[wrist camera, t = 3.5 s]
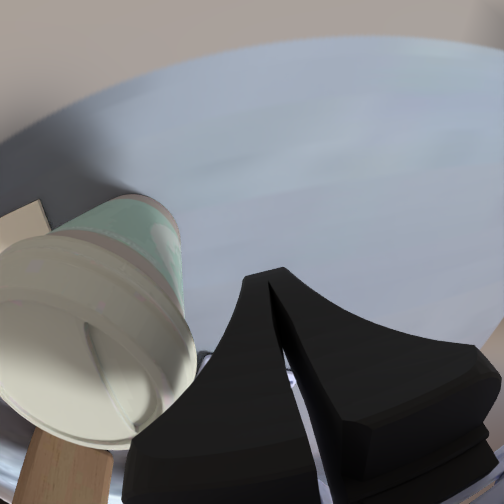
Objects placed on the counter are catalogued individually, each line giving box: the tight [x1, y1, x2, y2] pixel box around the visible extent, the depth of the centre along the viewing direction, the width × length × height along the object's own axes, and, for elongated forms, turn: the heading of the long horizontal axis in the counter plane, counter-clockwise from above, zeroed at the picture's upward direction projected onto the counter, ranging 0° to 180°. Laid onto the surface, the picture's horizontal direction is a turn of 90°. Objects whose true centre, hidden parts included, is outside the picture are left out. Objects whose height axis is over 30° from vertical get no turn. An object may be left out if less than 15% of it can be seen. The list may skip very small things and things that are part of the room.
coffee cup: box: [0, 194, 197, 450], centre depth 13 cm, size 9×8×12 cm
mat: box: [0, 199, 52, 253], centre depth 19 cm, size 14×11×1 cm
